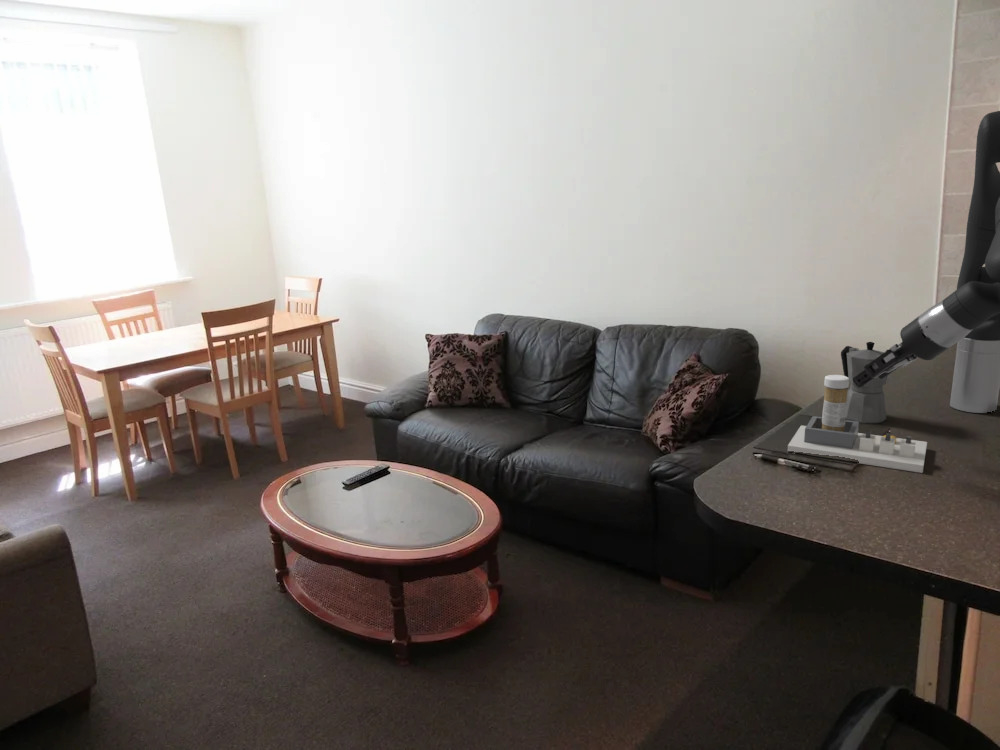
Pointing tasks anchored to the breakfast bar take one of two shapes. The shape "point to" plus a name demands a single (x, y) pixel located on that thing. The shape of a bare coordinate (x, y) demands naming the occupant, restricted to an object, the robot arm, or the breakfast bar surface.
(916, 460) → the breaker panel
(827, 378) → the sprinkles bottle
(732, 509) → the breakfast bar surface
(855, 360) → the coffeepot
